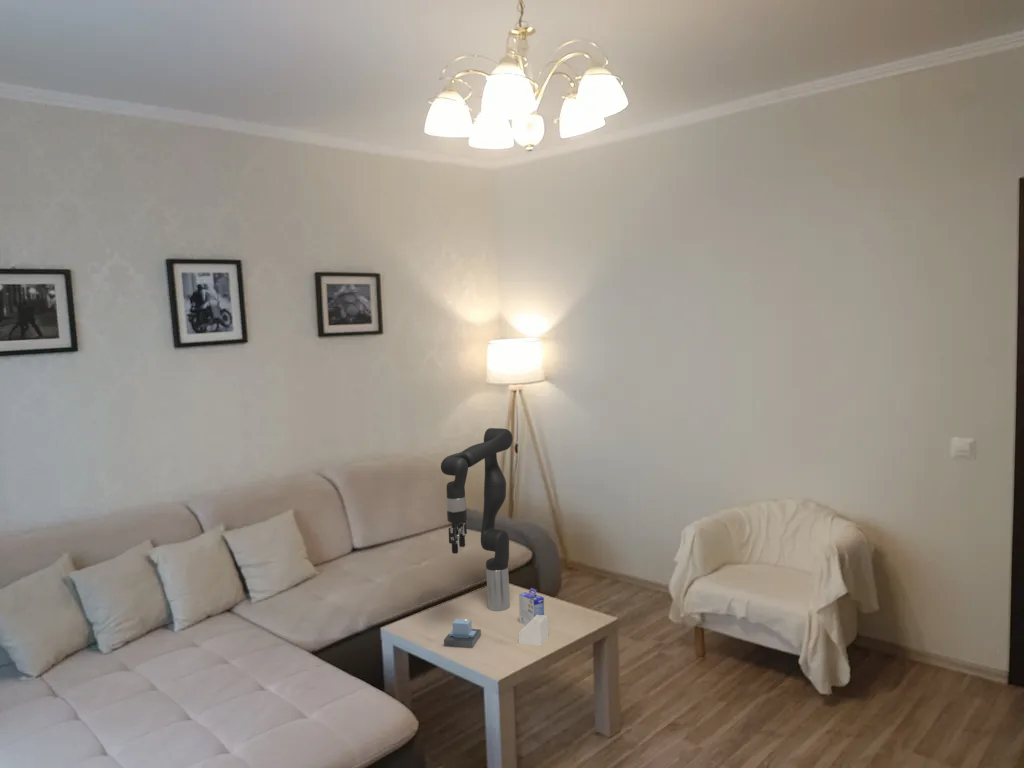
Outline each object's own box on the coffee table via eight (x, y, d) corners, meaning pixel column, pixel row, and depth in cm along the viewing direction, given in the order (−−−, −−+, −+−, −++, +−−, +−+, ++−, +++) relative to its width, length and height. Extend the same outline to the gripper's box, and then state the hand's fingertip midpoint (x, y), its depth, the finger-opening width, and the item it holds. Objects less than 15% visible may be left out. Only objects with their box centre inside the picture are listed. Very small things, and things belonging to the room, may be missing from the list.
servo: (452, 637, 271) (451, 616, 270) (476, 639, 268) (475, 618, 268) (449, 642, 267) (448, 620, 266) (473, 643, 264) (472, 622, 264)
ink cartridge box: (545, 627, 276) (544, 591, 275) (534, 631, 273) (532, 594, 272) (530, 620, 284) (528, 585, 283) (519, 624, 281) (517, 588, 280)
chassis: (453, 634, 274) (453, 627, 274) (481, 635, 271) (480, 629, 271) (444, 646, 263) (443, 639, 263) (472, 648, 261) (472, 641, 261)
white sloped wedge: (553, 630, 273) (552, 609, 273) (541, 646, 259) (540, 624, 259) (532, 628, 277) (531, 607, 276) (519, 644, 263) (518, 621, 262)
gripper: (453, 504, 282) (455, 544, 283) (441, 513, 268) (443, 555, 269) (471, 504, 280) (473, 545, 281) (459, 513, 266) (462, 555, 267)
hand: (458, 549), depth 275 cm, fingers open, 8 cm apart
